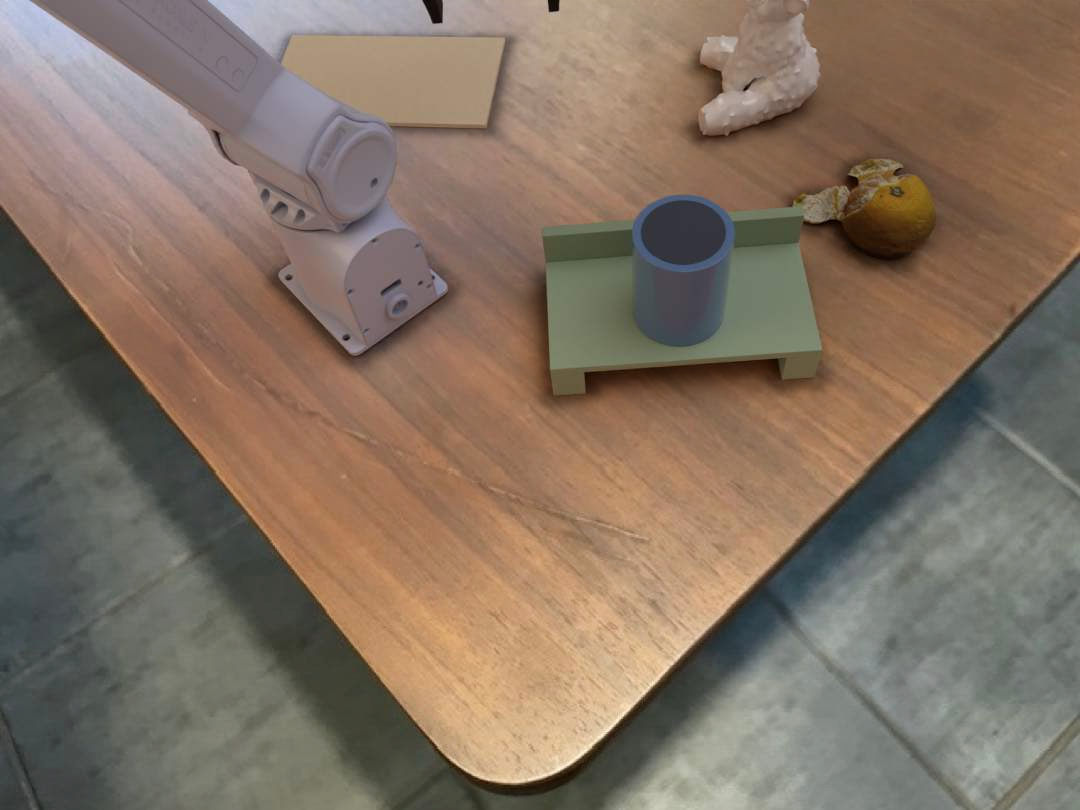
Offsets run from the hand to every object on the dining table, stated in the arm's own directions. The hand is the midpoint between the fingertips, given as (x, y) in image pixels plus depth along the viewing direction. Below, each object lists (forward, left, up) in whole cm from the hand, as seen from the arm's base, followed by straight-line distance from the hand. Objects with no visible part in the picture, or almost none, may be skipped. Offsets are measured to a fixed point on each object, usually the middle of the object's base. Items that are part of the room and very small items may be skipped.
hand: (495, 8), depth 64 cm
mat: (+11, +4, -10) cm, 16 cm away
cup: (-22, +5, -7) cm, 24 cm away
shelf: (-22, +4, -10) cm, 24 cm away
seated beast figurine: (-11, -15, -11) cm, 21 cm away
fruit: (-24, -12, -11) cm, 29 cm away
